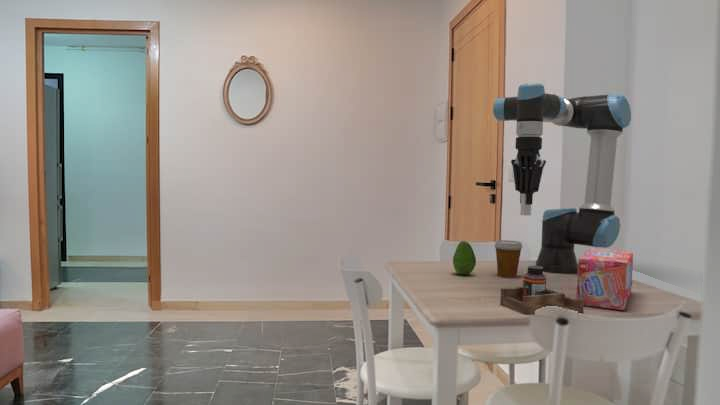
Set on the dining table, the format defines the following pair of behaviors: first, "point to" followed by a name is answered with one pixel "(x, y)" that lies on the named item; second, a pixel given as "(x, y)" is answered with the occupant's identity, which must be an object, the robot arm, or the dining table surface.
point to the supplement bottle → (534, 281)
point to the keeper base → (536, 301)
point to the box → (605, 278)
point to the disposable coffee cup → (507, 257)
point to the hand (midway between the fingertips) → (525, 215)
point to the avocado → (464, 258)
